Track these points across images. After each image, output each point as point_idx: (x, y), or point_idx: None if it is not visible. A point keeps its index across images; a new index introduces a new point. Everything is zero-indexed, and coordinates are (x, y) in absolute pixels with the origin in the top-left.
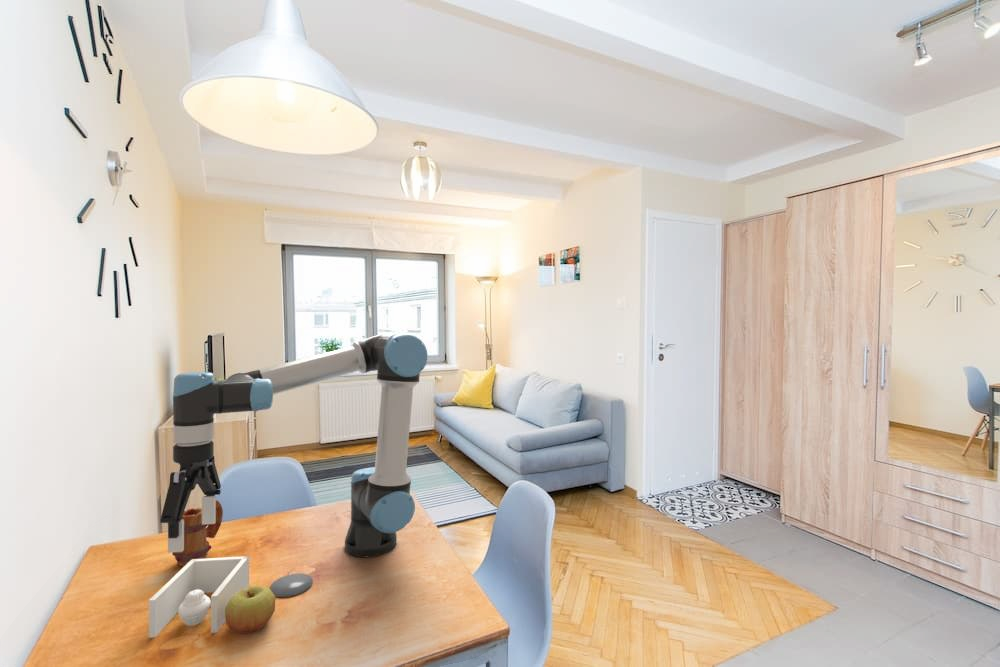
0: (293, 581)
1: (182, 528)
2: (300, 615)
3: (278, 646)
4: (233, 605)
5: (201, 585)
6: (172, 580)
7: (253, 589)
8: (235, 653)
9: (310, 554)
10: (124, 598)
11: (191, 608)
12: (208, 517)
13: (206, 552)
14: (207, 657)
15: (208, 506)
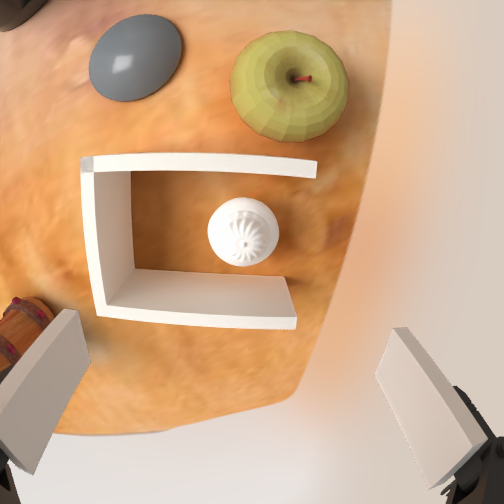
0: (121, 55)
1: (460, 406)
2: (264, 7)
3: (360, 36)
4: (333, 113)
5: (127, 261)
6: (203, 319)
7: (274, 74)
8: (368, 104)
9: (19, 80)
10: (150, 374)
11: (273, 230)
12: (67, 358)
13: (25, 300)
14: (369, 152)
15: (39, 405)
